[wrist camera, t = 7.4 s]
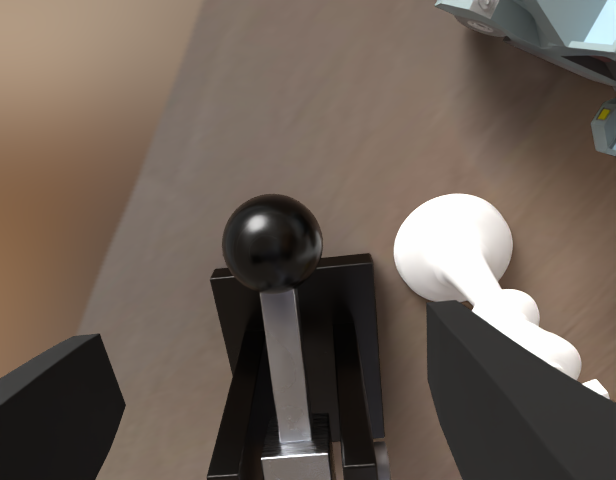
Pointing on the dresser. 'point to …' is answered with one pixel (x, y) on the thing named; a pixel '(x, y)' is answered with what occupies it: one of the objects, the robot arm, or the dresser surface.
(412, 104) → the dresser surface
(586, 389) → the robot arm
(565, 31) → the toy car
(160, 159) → the dresser surface
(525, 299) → the chess piece
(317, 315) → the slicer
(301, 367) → the lever
